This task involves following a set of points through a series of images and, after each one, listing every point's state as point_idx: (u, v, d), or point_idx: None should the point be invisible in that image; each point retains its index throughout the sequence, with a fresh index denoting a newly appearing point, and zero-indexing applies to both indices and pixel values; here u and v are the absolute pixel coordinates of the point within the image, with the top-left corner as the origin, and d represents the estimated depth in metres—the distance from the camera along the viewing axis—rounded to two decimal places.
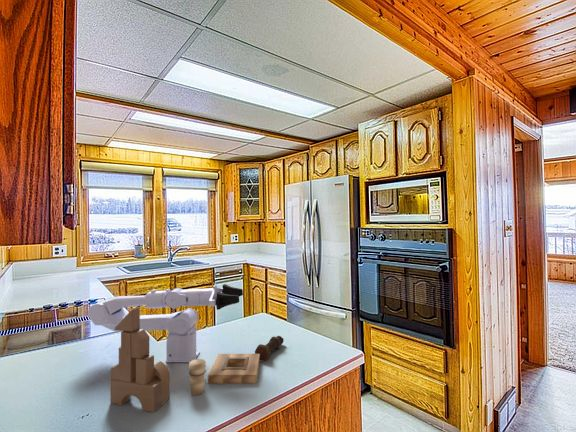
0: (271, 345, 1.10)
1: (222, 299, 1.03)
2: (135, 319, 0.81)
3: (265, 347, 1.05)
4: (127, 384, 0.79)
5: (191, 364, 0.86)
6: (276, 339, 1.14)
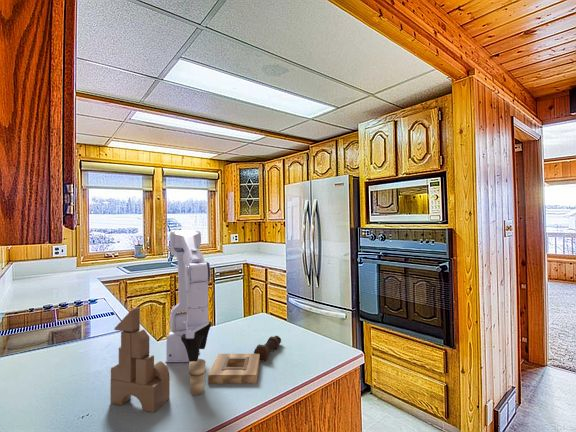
0: (270, 345, 1.10)
1: None
2: (135, 319, 0.81)
3: (264, 347, 1.05)
4: (127, 384, 0.79)
5: (191, 364, 0.86)
6: (274, 339, 1.14)
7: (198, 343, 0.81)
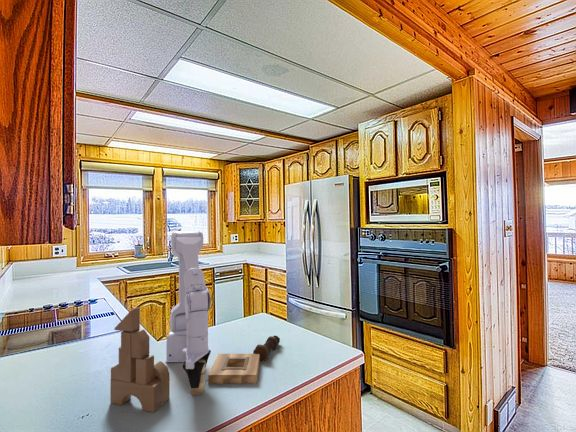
0: (269, 345, 1.10)
1: None
2: (135, 319, 0.81)
3: (264, 347, 1.05)
4: (127, 384, 0.79)
5: None
6: (273, 339, 1.14)
7: (199, 370, 0.83)
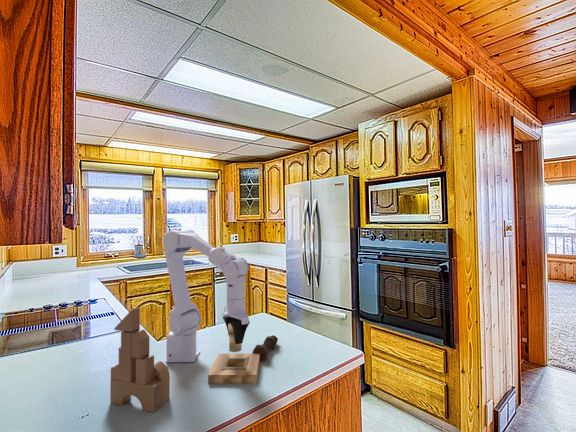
0: (268, 345, 1.10)
1: None
2: (135, 319, 0.81)
3: (263, 347, 1.05)
4: (127, 384, 0.79)
5: None
6: (271, 339, 1.14)
7: (246, 326, 0.95)
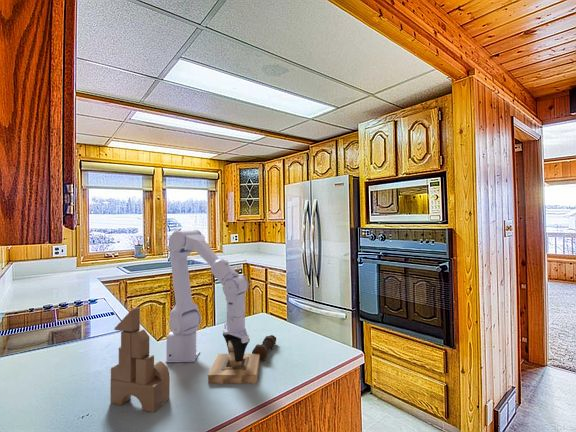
0: (267, 345, 1.10)
1: None
2: (135, 319, 0.81)
3: (263, 347, 1.05)
4: (127, 384, 0.79)
5: None
6: (270, 338, 1.14)
7: (246, 344, 0.95)
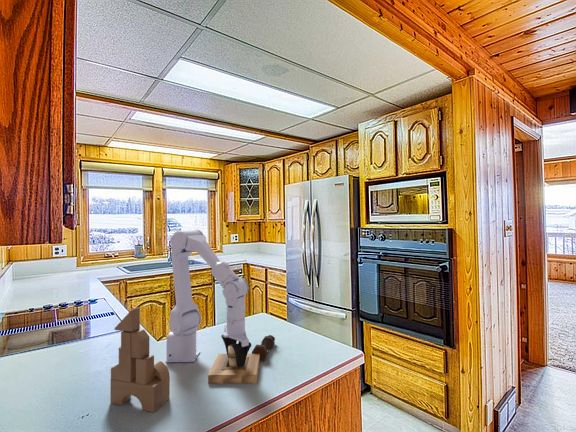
0: (266, 345, 1.10)
1: None
2: (135, 319, 0.81)
3: (263, 347, 1.05)
4: (127, 384, 0.79)
5: None
6: (269, 338, 1.14)
7: (248, 349, 0.94)
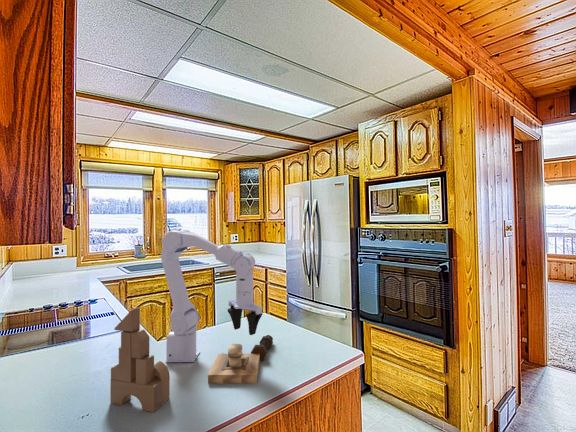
0: (265, 344, 1.10)
1: None
2: (135, 319, 0.81)
3: (262, 347, 1.05)
4: (127, 384, 0.79)
5: (233, 348, 0.96)
6: (268, 338, 1.14)
7: (260, 317, 1.02)
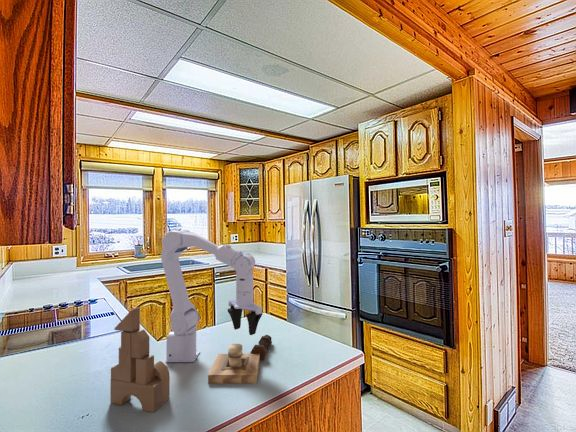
0: (264, 344, 1.10)
1: None
2: (135, 319, 0.81)
3: (262, 347, 1.05)
4: (127, 384, 0.79)
5: (233, 348, 0.96)
6: (267, 338, 1.14)
7: (260, 317, 1.02)
